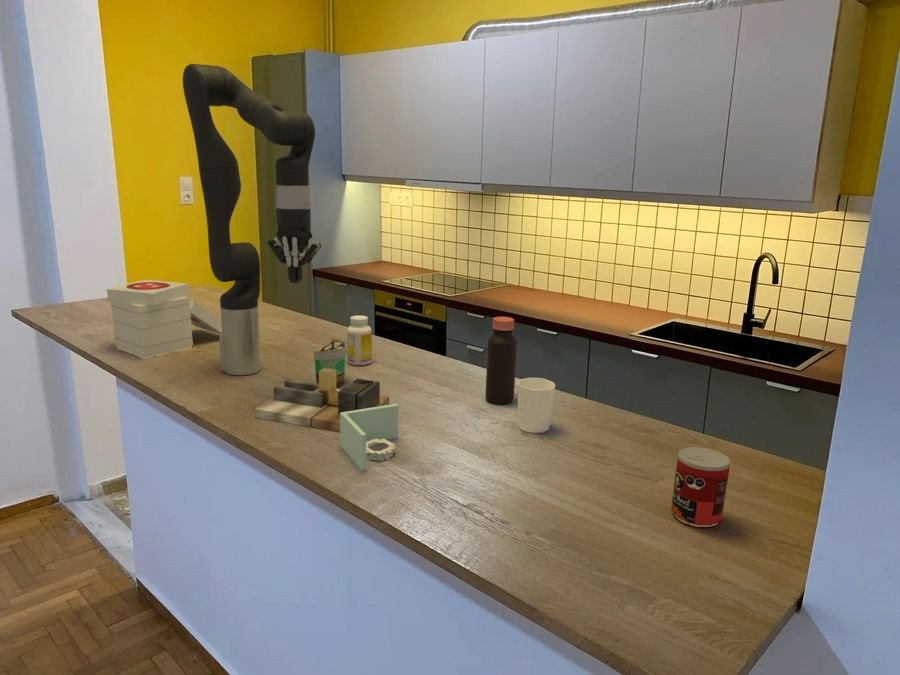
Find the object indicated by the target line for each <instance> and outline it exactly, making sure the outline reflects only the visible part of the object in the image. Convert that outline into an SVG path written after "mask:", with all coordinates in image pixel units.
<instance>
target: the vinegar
mask: <svg viewBox="0 0 900 675" xmlns="http://www.w3.org/2000/svg"><path fill="white" fill-rule="evenodd" d="M514 329H515V318H513V317H508V316H496V317H493V318H492V331H493V333H492V334H491V335H490V336H489V337H488V339H487V355H486V375H485V376H486V377H485V394H484V395H485V396H484V397H485V401H486V402H488V403H490V404H493V405H509V404H511V403H513V401H514V399H515V385H516V384H515V383H516V367H517V365H516V364H517V351H518V350H517V348H518V340H517V338H516V337H515V336H514V335H513V332H514Z"/></svg>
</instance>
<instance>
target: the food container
mask: <svg viewBox="0 0 900 675" xmlns="http://www.w3.org/2000/svg"><path fill="white" fill-rule="evenodd" d="M347 354H348V348H347V344H346V342H345V341H343V340H341V339H337V338H331V340H330V343H328V344H327V345H324V346H323V347H322V348H321V349H320V350H314V351H313V361H314V366H315V367H314V368H315V380H316V383H315V384H319V370H321V369H323V368H329V369H336V389H338V388H340V387H342V386H343V385H344V383H345V370H346V356H347Z"/></svg>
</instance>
